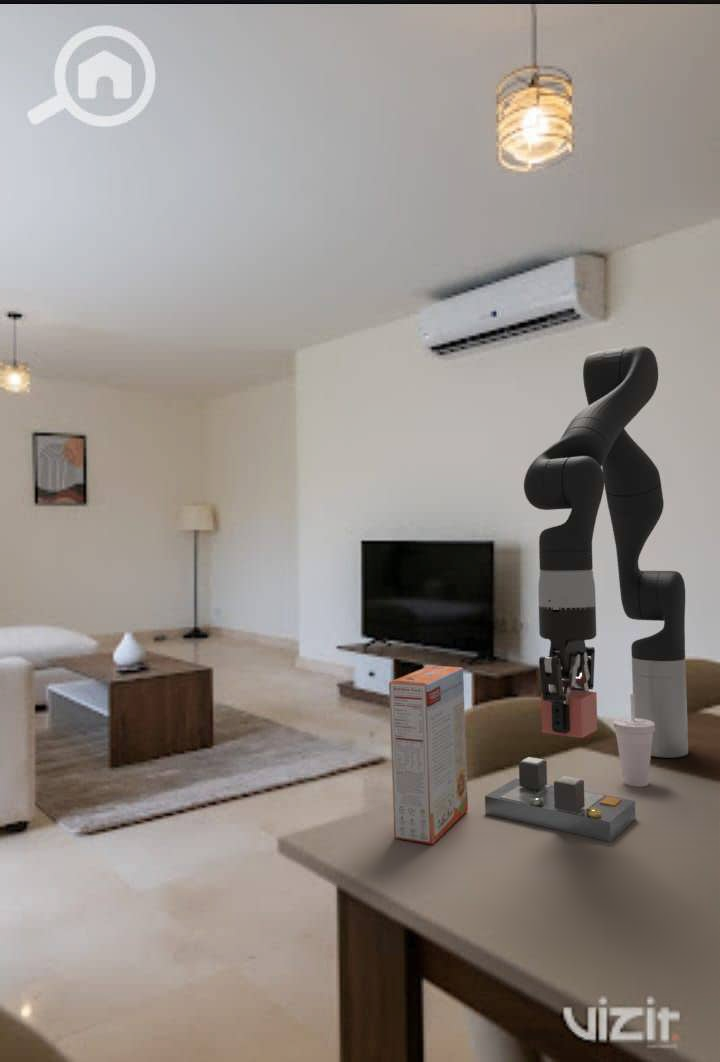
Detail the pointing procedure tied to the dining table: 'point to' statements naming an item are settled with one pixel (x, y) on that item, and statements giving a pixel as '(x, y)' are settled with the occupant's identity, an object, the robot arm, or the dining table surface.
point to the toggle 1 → (533, 773)
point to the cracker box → (428, 752)
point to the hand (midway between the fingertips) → (570, 727)
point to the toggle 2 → (569, 794)
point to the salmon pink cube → (574, 714)
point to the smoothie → (634, 747)
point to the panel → (562, 811)
